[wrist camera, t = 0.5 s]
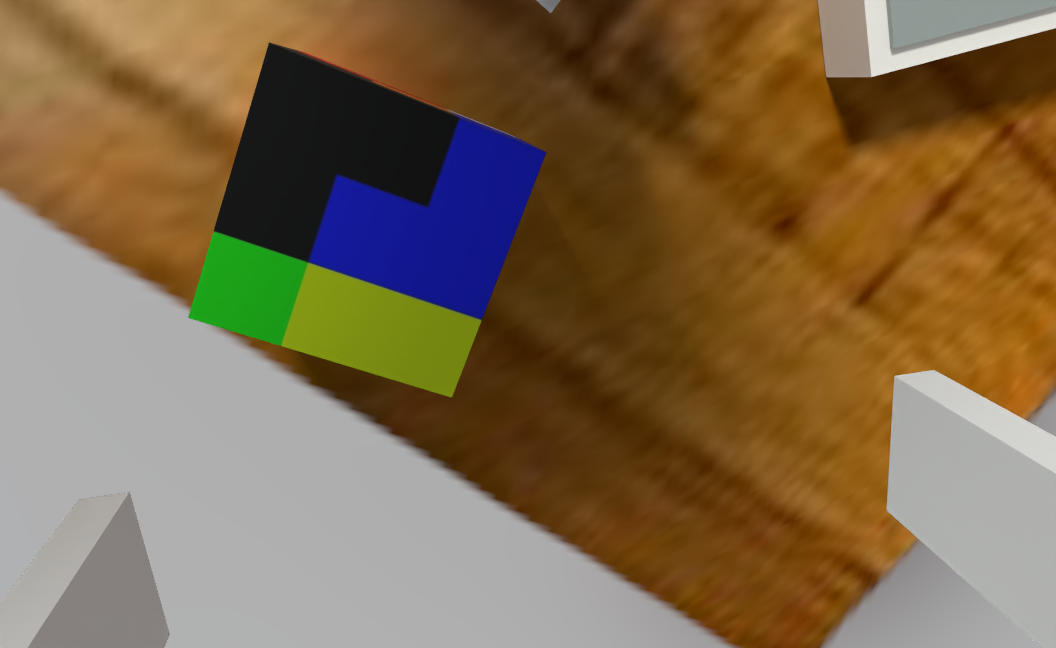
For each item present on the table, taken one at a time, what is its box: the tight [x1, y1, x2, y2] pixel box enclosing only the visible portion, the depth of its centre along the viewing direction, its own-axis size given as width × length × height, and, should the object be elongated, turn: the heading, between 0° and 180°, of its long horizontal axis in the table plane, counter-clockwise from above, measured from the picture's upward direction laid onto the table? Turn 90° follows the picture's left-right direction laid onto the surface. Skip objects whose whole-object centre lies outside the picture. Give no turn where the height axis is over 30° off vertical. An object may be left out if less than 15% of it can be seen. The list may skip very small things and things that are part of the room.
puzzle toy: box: [189, 43, 546, 398], centre depth 33 cm, size 10×10×10 cm
